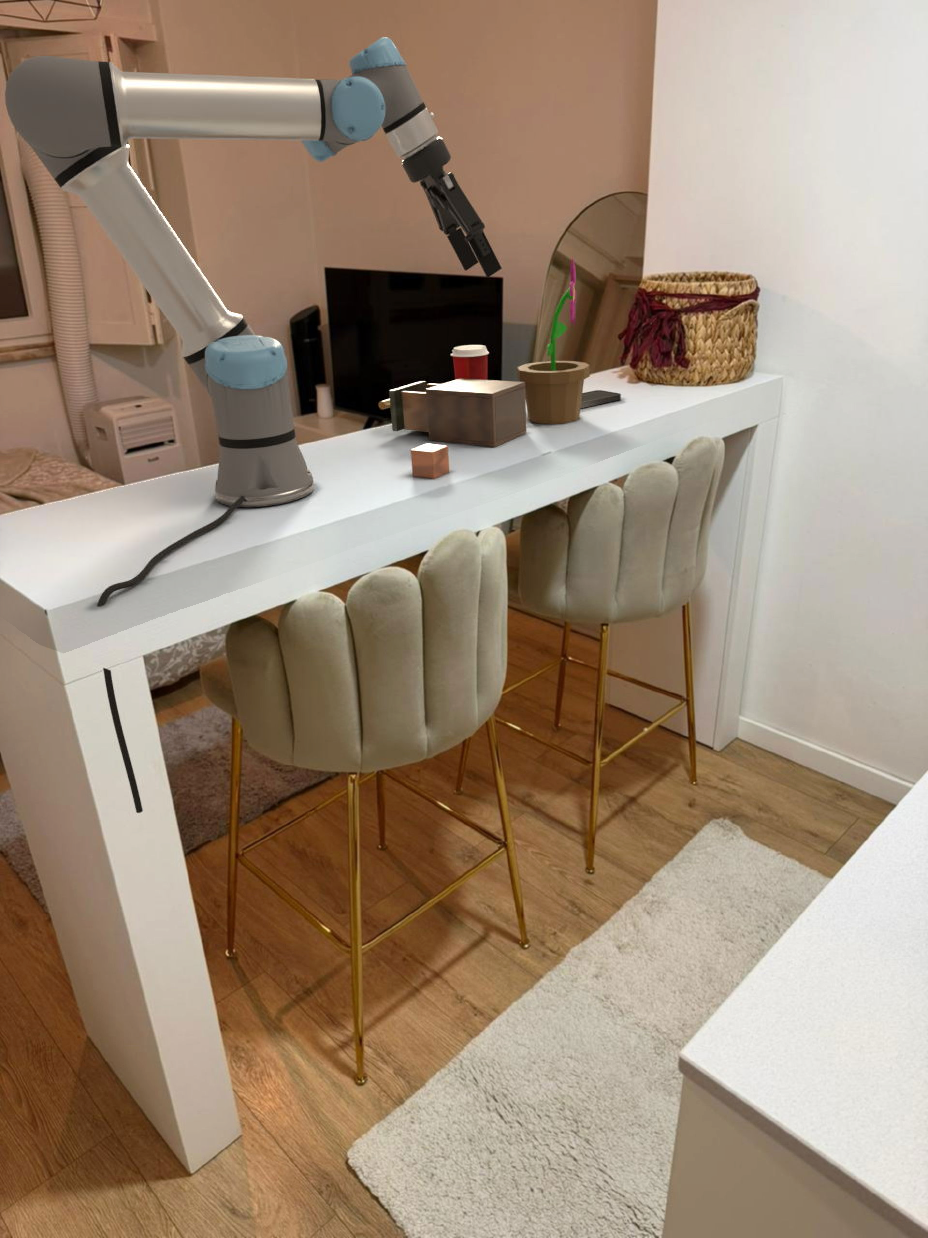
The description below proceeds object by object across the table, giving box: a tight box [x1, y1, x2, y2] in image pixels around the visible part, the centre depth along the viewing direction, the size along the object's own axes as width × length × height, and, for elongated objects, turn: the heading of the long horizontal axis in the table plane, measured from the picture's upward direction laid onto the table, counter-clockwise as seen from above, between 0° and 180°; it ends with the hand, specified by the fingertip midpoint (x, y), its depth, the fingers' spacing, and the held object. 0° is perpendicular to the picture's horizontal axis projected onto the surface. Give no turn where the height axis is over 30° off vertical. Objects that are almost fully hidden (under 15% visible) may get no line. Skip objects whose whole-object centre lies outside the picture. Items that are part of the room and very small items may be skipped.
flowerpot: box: [516, 257, 591, 425], centre depth 173 cm, size 14×14×30 cm
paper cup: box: [450, 344, 490, 380], centre depth 182 cm, size 8×8×14 cm
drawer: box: [378, 380, 441, 433], centre depth 173 cm, size 18×10×8 cm, turn 56°
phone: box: [580, 389, 622, 409], centre depth 191 cm, size 8×1×15 cm
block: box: [410, 443, 450, 480], centre depth 145 cm, size 4×4×4 cm
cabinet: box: [426, 378, 527, 448], centre depth 166 cm, size 15×12×10 cm
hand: (482, 269), depth 152 cm, fingers open, 13 cm apart
